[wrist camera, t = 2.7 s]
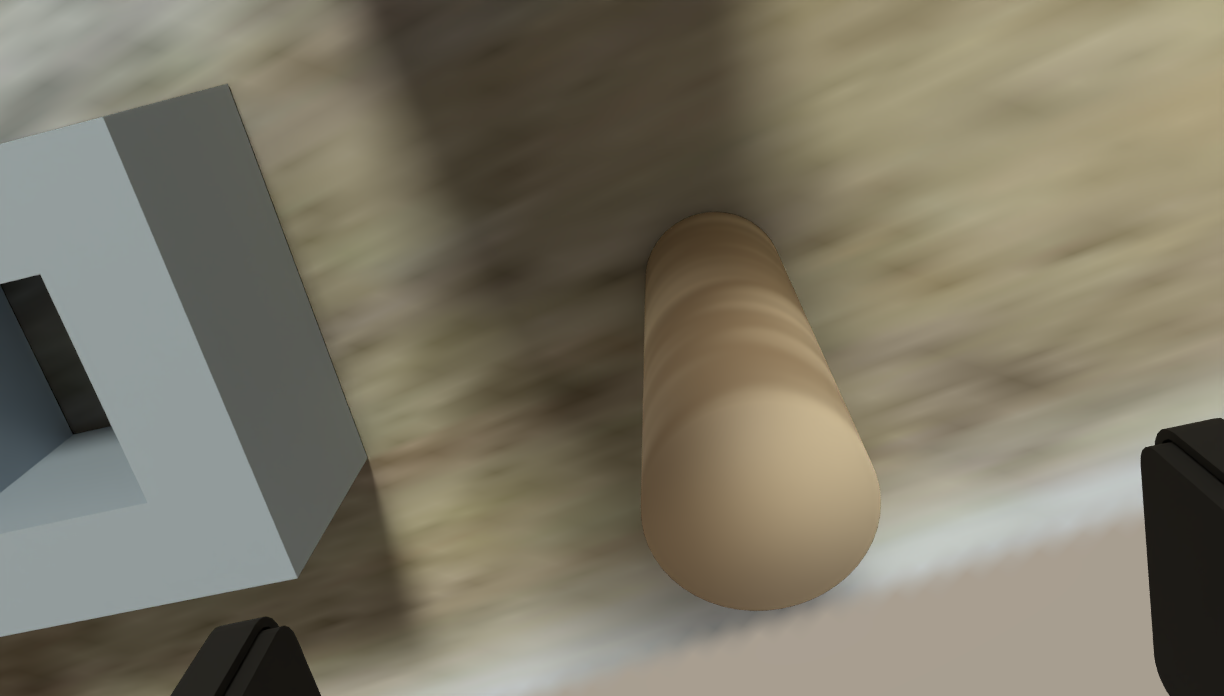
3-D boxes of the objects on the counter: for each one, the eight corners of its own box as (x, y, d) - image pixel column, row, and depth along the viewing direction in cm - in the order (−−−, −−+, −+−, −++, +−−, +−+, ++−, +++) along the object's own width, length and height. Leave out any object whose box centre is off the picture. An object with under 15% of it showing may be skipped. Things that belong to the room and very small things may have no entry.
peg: (768, 197, 21) (861, 379, 12) (792, 326, 22) (897, 588, 13) (631, 229, 21) (616, 429, 12) (662, 354, 22) (669, 628, 13)
